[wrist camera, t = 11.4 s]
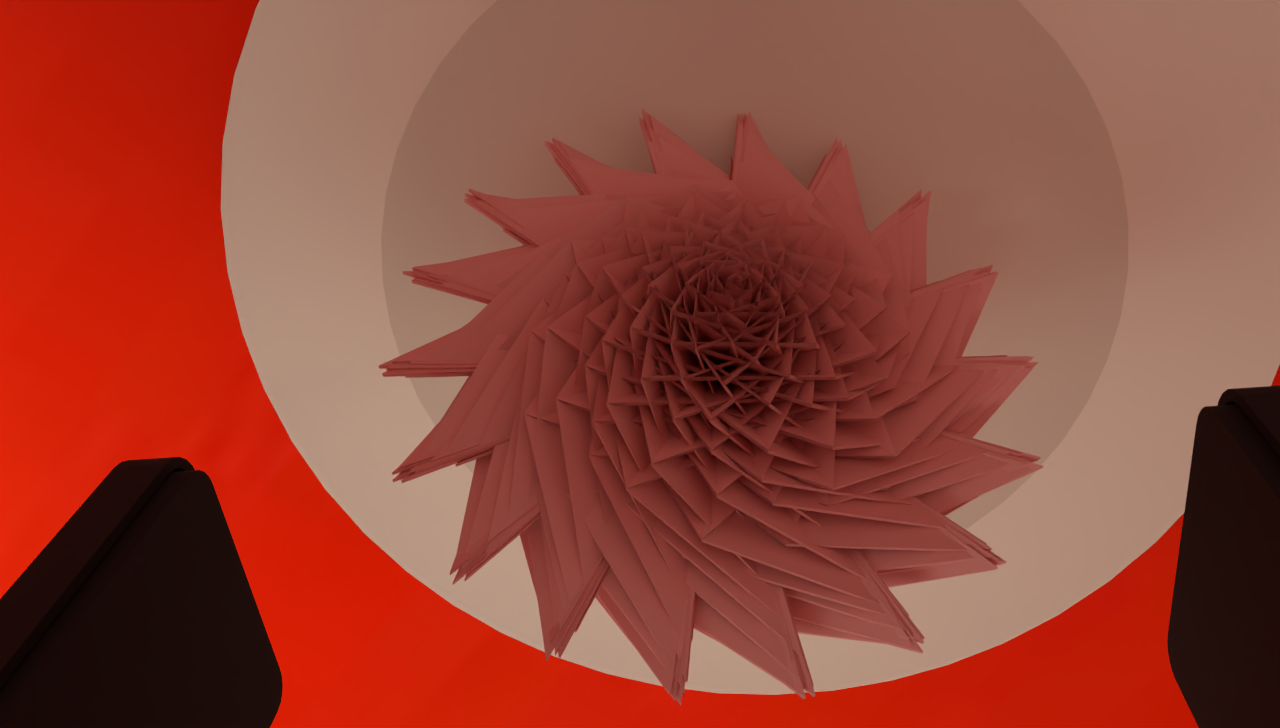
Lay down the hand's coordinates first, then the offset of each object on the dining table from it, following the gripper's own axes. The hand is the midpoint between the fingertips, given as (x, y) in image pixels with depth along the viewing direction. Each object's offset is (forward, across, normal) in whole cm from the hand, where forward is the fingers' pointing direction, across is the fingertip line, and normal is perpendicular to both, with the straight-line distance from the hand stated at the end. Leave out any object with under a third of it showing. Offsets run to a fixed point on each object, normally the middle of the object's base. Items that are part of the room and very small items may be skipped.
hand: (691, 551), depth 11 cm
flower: (+7, 0, 0) cm, 7 cm away
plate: (+8, 0, 0) cm, 8 cm away
